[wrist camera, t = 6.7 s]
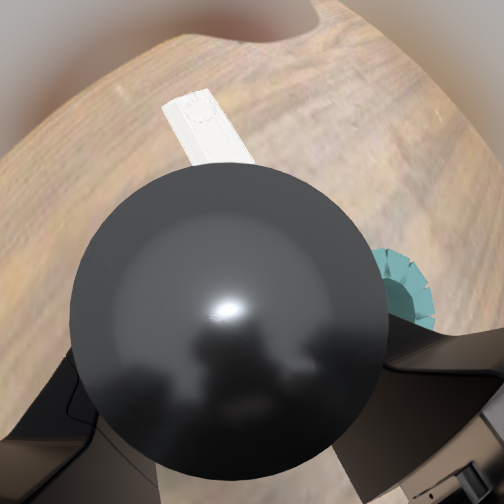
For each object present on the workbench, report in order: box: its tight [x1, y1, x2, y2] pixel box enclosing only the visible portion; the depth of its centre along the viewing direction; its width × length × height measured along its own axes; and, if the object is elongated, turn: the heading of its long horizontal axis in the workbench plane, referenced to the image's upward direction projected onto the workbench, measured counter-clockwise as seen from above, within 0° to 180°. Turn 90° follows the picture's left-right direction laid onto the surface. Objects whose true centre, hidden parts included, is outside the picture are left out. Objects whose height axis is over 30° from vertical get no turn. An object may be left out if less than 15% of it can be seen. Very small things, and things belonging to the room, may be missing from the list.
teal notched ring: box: [371, 248, 435, 331], centre depth 21 cm, size 9×9×4 cm
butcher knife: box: [161, 89, 256, 166], centre depth 24 cm, size 5×15×1 cm, turn 29°
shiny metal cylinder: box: [69, 162, 389, 481], centre depth 9 cm, size 4×4×12 cm
